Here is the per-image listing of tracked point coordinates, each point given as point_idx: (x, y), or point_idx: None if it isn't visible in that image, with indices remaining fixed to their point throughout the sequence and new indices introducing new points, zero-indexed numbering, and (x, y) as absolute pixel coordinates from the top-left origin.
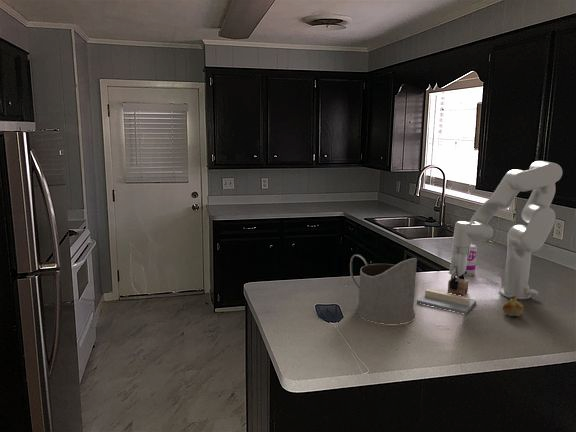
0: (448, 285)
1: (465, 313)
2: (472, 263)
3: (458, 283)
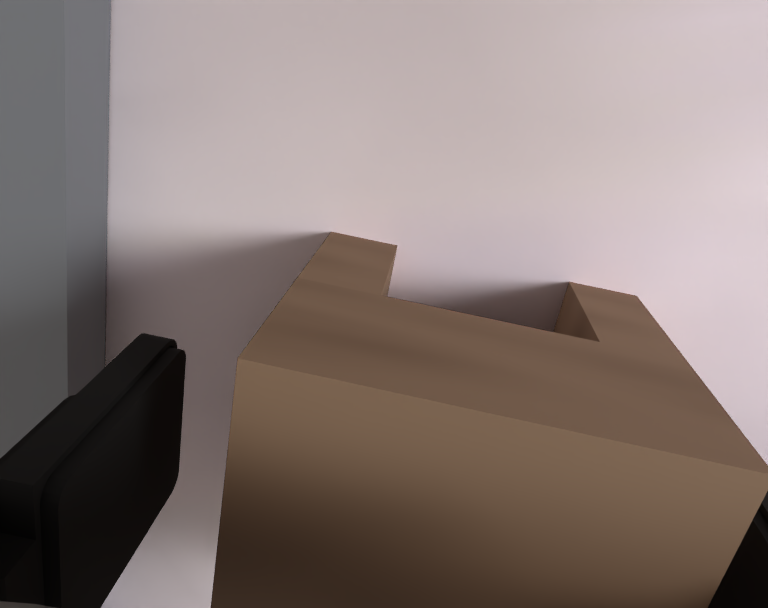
0: (286, 302)
1: None
2: None
3: (216, 601)
